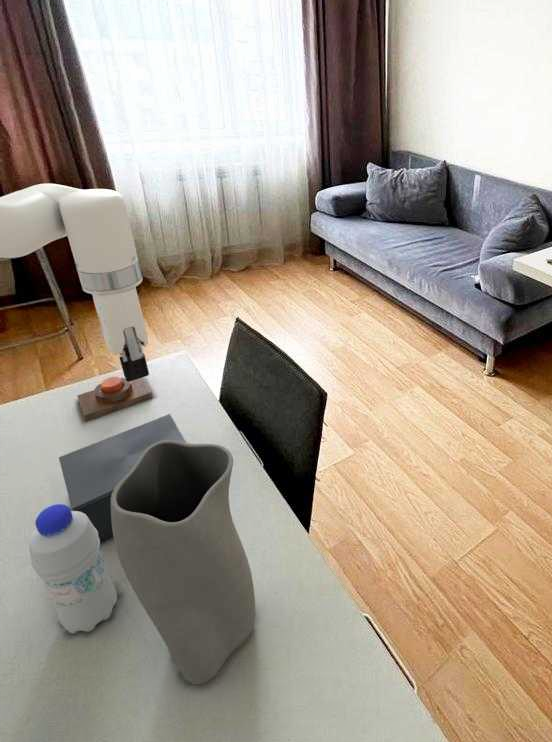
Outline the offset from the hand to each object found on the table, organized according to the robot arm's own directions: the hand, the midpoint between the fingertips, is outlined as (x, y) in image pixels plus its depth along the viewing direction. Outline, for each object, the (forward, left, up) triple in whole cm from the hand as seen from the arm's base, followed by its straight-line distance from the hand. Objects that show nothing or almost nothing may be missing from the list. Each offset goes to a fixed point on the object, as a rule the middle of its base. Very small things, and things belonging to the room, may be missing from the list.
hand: (137, 376), depth 80 cm
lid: (-4, -4, -13) cm, 14 cm away
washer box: (-5, -4, -22) cm, 22 cm away
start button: (-2, +26, -18) cm, 32 cm away
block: (-2, +26, -22) cm, 34 cm away
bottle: (-14, -21, -22) cm, 33 cm away
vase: (-3, -35, -22) cm, 41 cm away
